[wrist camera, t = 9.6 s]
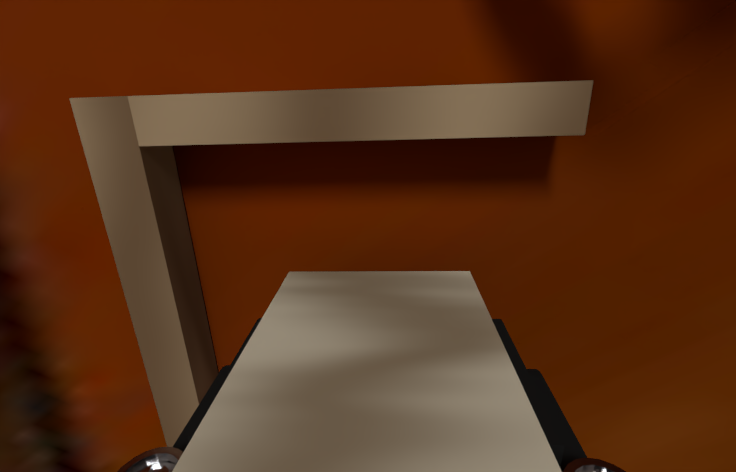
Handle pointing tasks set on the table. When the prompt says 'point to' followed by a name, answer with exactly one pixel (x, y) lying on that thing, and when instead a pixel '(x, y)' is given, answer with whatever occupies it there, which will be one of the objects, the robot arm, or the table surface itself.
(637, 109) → the table surface
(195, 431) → the robot arm
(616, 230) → the table surface
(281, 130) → the oak bay
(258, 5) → the table surface
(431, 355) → the birch block
